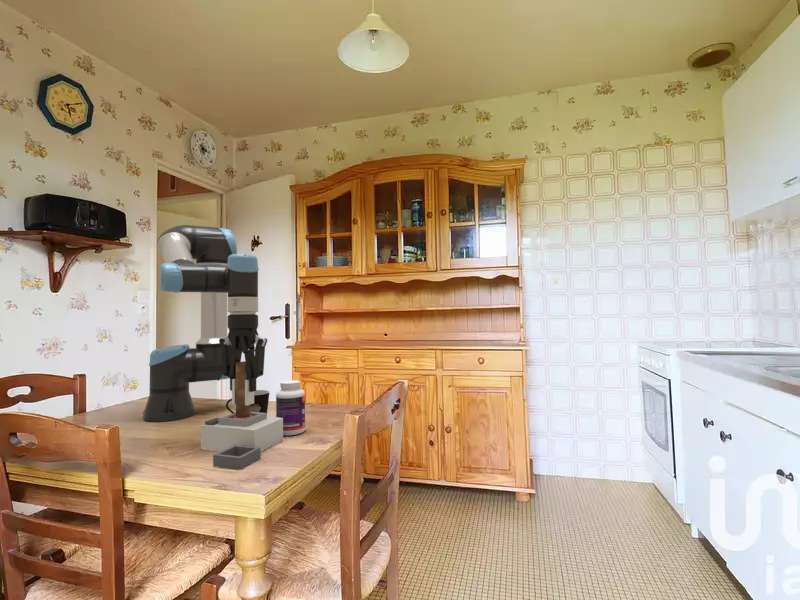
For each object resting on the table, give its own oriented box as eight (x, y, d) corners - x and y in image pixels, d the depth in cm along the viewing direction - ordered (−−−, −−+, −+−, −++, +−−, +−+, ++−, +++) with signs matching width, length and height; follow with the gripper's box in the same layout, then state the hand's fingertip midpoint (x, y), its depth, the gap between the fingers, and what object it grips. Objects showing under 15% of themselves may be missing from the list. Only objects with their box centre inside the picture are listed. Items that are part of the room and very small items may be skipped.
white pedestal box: (200, 449, 105) (200, 419, 105) (233, 435, 116) (233, 408, 117) (254, 455, 100) (254, 423, 100) (283, 440, 112) (282, 412, 112)
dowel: (232, 417, 107) (232, 362, 108) (241, 414, 111) (241, 361, 111) (244, 418, 106) (244, 363, 106) (253, 415, 109) (253, 361, 110)
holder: (213, 466, 93) (213, 455, 93) (234, 455, 100) (234, 445, 100) (240, 469, 91) (240, 458, 91) (260, 458, 98) (260, 447, 98)
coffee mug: (274, 422, 130) (274, 390, 130) (262, 430, 122) (262, 395, 122) (238, 421, 131) (238, 389, 132) (224, 429, 123) (224, 395, 123)
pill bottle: (308, 434, 117) (308, 382, 117) (279, 438, 113) (278, 385, 114) (301, 427, 124) (301, 378, 125) (273, 430, 121) (273, 380, 121)
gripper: (206, 314, 108) (206, 405, 107) (260, 313, 103) (261, 408, 102) (227, 313, 115) (227, 399, 114) (278, 313, 110) (278, 402, 110)
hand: (243, 403), depth 108 cm, fingers closed on dowel, 3 cm apart
